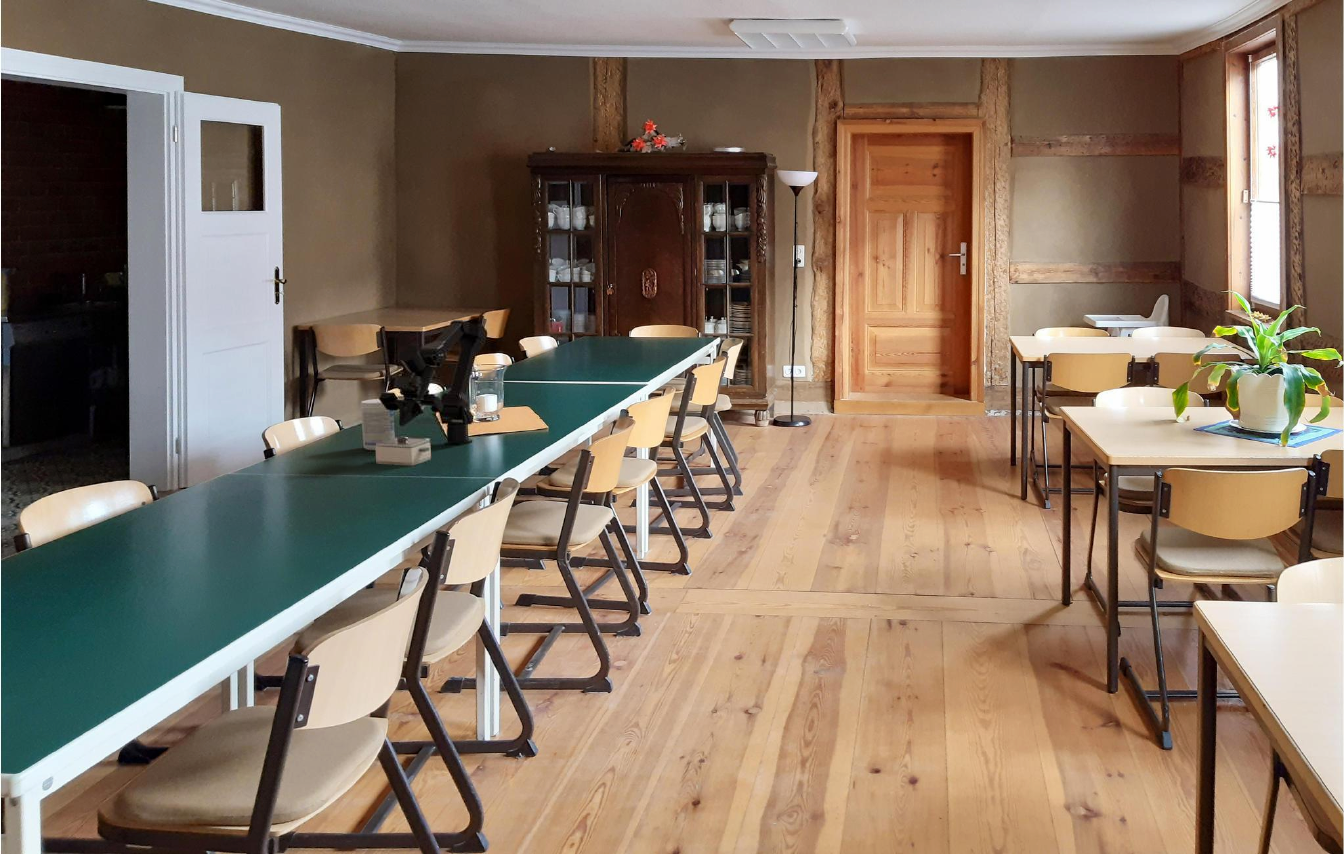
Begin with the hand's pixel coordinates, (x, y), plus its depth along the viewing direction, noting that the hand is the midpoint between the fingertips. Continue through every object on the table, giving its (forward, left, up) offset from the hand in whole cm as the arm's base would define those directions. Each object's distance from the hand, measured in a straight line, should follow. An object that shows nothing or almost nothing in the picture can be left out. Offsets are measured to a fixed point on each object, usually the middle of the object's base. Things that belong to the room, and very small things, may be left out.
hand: (401, 425), depth 360 cm
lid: (-1, 0, -5) cm, 5 cm away
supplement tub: (-13, -22, -11) cm, 28 cm away
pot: (0, 0, -11) cm, 11 cm away
